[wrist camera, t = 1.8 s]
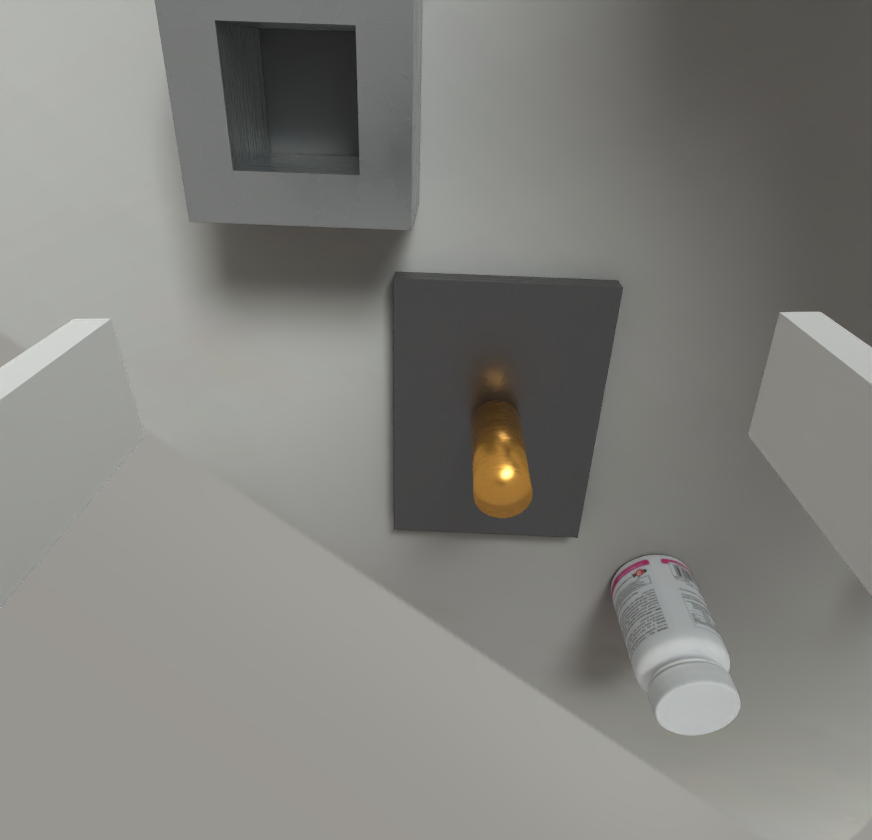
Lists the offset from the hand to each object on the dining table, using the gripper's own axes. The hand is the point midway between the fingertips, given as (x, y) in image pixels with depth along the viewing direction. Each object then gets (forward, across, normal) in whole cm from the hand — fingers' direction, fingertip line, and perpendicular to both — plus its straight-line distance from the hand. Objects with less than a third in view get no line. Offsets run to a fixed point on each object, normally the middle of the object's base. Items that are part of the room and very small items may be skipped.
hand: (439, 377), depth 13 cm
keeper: (+16, +2, -10) cm, 19 cm away
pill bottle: (+17, +12, -21) cm, 29 cm away
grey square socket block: (+16, -5, +5) cm, 18 cm away
